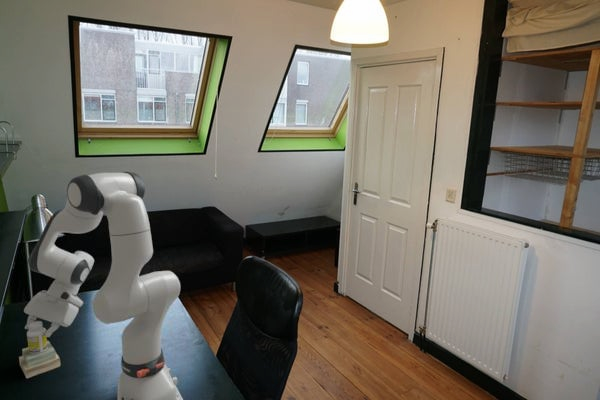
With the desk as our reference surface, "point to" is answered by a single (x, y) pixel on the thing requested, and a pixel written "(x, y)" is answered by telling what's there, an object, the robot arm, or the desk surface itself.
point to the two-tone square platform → (39, 361)
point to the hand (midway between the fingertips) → (36, 332)
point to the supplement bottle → (36, 338)
